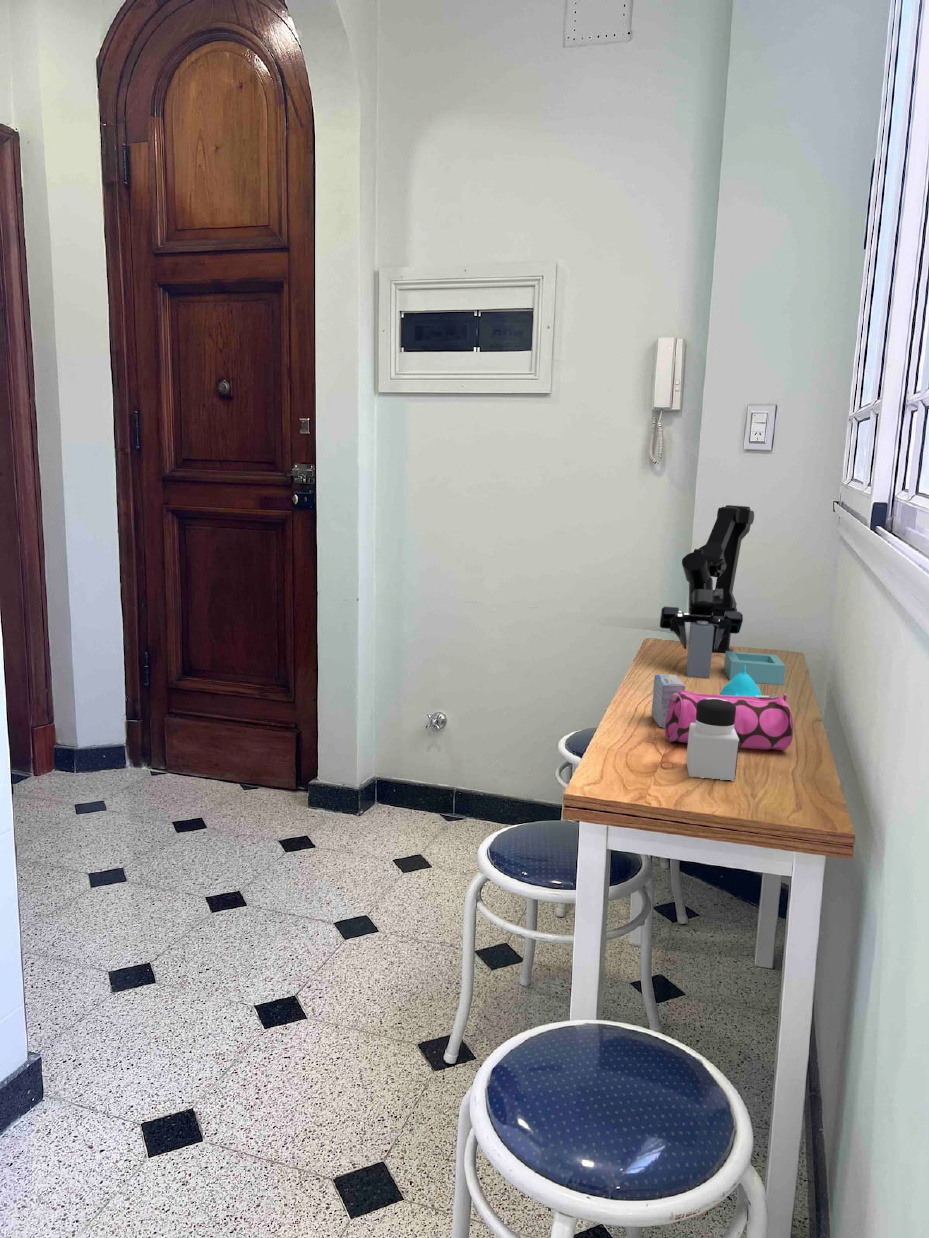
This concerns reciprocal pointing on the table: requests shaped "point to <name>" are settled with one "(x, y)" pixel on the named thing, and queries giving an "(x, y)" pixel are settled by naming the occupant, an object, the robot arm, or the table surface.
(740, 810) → the table surface
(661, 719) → the medicine box
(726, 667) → the teal base brick
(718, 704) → the medicine bottle
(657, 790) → the table surface
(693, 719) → the pencil case
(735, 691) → the toy shark
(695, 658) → the grey knobbed block
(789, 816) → the table surface
